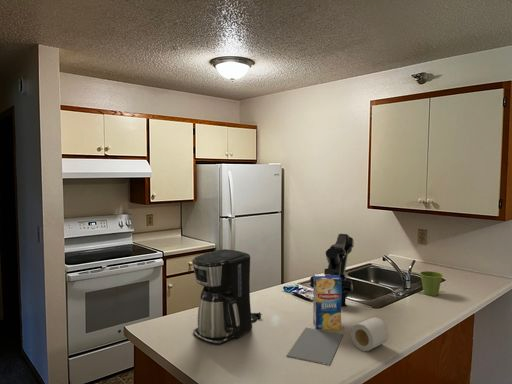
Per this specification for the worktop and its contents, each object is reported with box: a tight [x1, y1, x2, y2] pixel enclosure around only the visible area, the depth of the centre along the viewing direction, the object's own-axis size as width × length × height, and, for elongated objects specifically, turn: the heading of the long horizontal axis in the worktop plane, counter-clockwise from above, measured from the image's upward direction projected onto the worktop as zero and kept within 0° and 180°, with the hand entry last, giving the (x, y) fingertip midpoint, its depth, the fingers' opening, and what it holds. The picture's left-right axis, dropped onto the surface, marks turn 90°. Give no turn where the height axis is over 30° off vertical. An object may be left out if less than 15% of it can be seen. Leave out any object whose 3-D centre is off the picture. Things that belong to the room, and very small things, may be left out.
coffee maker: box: [192, 248, 263, 345], centre depth 163 cm, size 23×32×34 cm
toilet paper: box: [350, 317, 390, 352], centre depth 148 cm, size 10×10×10 cm
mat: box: [286, 327, 344, 366], centre depth 149 cm, size 26×16×1 cm, turn 157°
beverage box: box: [312, 273, 342, 330], centre depth 166 cm, size 7×11×22 cm, turn 91°
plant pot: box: [419, 270, 444, 297], centre depth 206 cm, size 12×12×11 cm
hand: (328, 300), depth 168 cm, fingers closed
